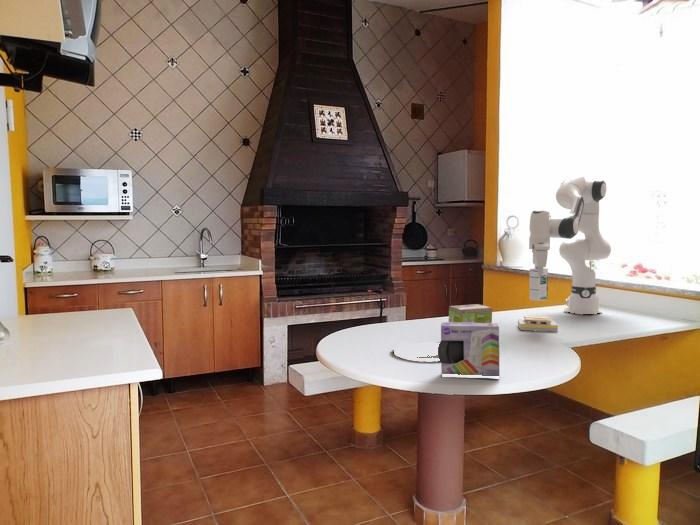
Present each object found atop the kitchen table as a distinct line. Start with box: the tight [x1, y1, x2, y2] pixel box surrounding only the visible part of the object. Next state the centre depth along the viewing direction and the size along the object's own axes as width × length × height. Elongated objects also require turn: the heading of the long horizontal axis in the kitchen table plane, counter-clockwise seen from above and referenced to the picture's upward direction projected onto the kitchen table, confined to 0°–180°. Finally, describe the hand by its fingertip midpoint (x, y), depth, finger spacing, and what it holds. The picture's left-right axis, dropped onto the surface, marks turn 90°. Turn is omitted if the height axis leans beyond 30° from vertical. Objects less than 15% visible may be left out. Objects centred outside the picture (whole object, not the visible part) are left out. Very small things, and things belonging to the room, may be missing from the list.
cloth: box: [523, 315, 553, 324], centre depth 243 cm, size 9×11×2 cm
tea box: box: [448, 303, 493, 323], centre depth 219 cm, size 15×10×15 cm
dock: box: [517, 318, 559, 333], centre depth 243 cm, size 12×16×3 cm
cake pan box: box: [438, 321, 501, 377], centre depth 170 cm, size 19×5×18 cm, turn 78°
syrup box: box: [529, 267, 549, 302], centre depth 242 cm, size 6×6×14 cm
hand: (538, 275), depth 241 cm, fingers closed on syrup box, 8 cm apart
